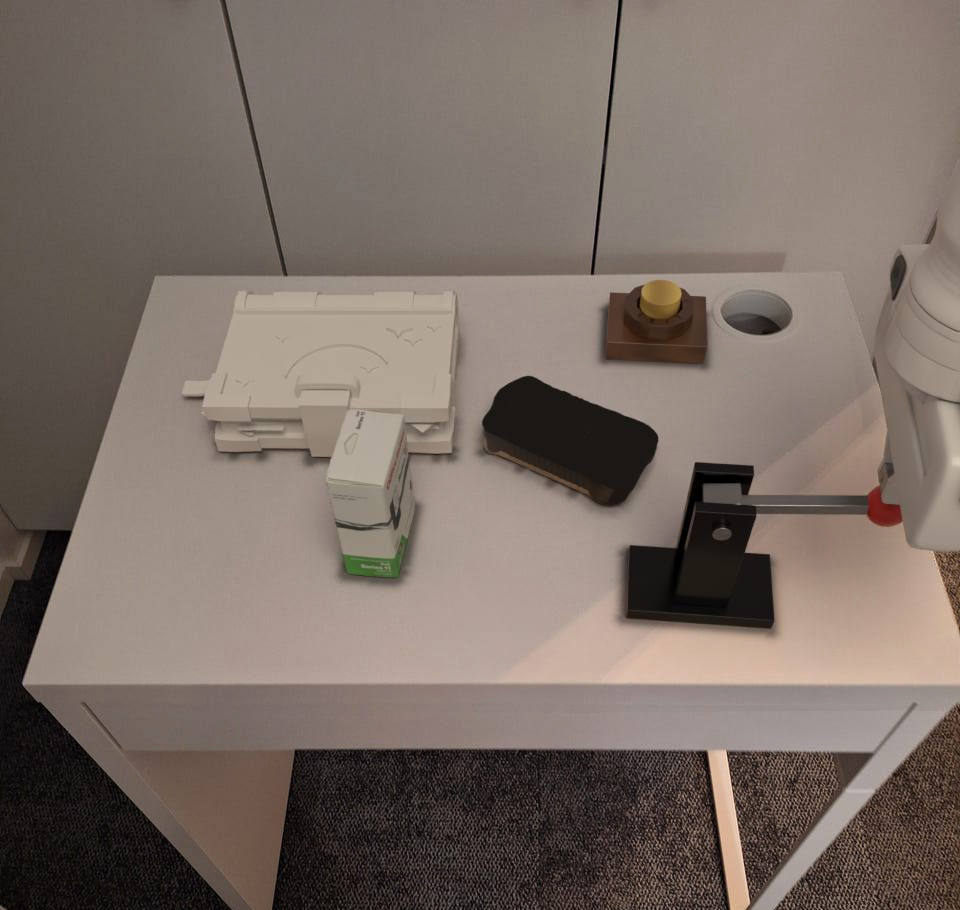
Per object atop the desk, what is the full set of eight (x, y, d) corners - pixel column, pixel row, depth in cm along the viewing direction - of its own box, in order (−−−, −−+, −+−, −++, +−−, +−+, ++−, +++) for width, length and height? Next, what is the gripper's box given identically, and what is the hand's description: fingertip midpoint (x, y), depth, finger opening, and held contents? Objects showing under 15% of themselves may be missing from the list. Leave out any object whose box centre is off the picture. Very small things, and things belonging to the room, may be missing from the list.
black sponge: (663, 460, 89) (668, 432, 86) (619, 518, 86) (623, 490, 83) (518, 397, 95) (517, 368, 92) (470, 449, 91) (468, 421, 88)
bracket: (767, 562, 82) (804, 458, 72) (771, 629, 79) (811, 529, 68) (628, 553, 83) (644, 449, 73) (625, 618, 80) (643, 518, 69)
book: (206, 330, 102) (186, 268, 96) (466, 330, 100) (462, 267, 94) (166, 462, 91) (140, 402, 85) (455, 464, 90) (451, 403, 84)
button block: (702, 313, 101) (709, 281, 97) (703, 364, 96) (710, 332, 93) (608, 309, 102) (611, 277, 98) (605, 359, 97) (608, 327, 94)
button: (679, 295, 97) (681, 280, 95) (679, 320, 95) (681, 305, 93) (639, 293, 97) (641, 278, 96) (639, 318, 95) (640, 303, 94)
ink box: (399, 580, 83) (383, 487, 73) (344, 574, 83) (321, 481, 73) (418, 505, 87) (405, 408, 77) (366, 500, 88) (347, 403, 78)
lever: (902, 503, 72) (913, 474, 69) (908, 536, 70) (919, 507, 67) (700, 502, 74) (703, 473, 72) (700, 533, 72) (704, 505, 70)
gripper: (1060, 462, 51) (958, 609, 63) (992, 235, 62) (916, 395, 74) (940, 455, 52) (860, 602, 63) (893, 230, 63) (833, 390, 74)
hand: (890, 489), depth 69 cm, fingers closed, pressing on lever
